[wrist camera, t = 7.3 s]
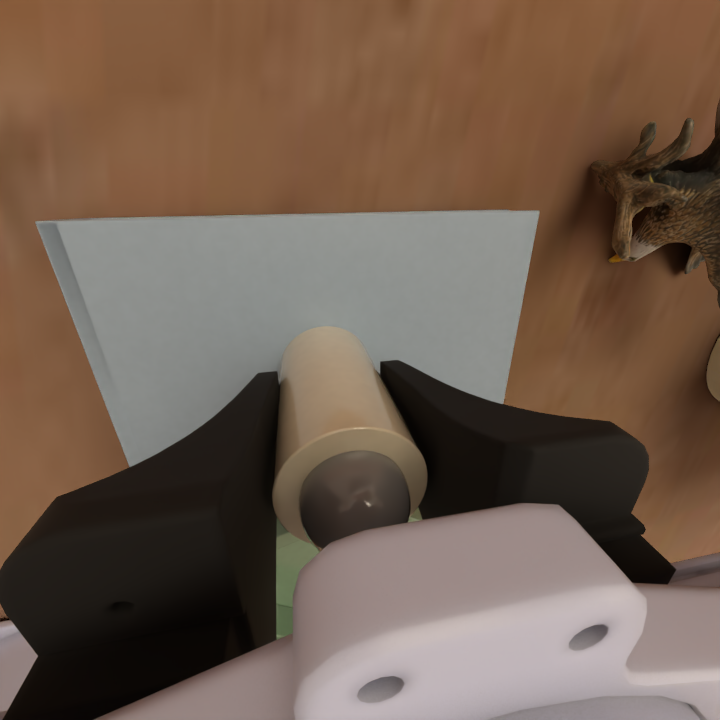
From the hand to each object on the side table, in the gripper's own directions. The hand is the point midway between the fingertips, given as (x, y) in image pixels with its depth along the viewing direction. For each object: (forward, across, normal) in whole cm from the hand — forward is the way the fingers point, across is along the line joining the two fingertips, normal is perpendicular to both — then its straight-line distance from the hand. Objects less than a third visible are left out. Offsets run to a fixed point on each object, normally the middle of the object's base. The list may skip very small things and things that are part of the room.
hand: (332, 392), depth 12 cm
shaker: (+2, 0, 0) cm, 2 cm away
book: (+4, 0, 0) cm, 4 cm away
